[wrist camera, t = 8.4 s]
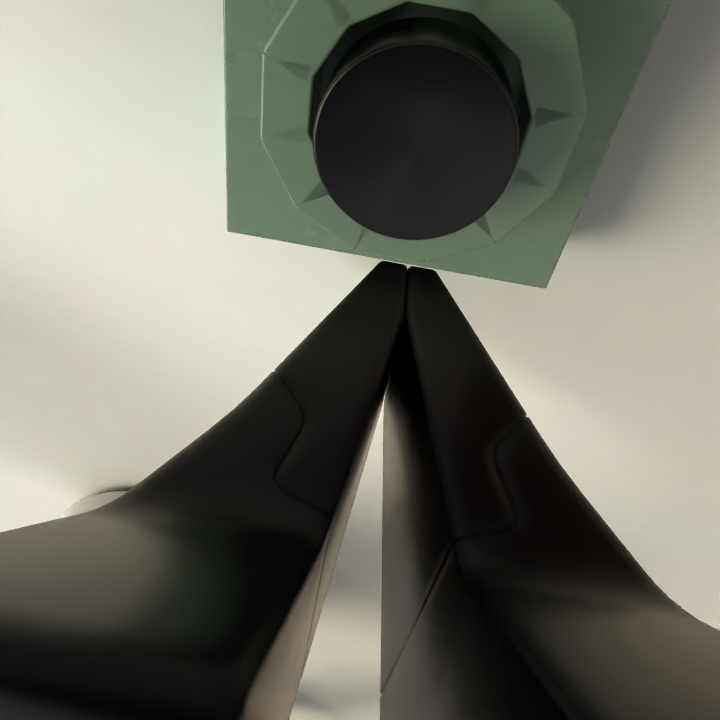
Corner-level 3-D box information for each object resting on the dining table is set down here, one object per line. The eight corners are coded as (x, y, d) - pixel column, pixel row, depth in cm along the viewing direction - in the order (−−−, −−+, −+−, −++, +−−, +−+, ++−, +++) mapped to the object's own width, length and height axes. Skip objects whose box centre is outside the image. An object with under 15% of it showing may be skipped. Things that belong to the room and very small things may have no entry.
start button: (541, 36, 13) (550, 63, 12) (483, 218, 16) (486, 256, 15) (334, -2, 13) (321, 20, 11) (316, 188, 16) (304, 223, 15)
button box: (685, -128, 14) (755, -101, 11) (537, 242, 21) (552, 327, 18) (251, -211, 14) (188, -209, 11) (248, 189, 21) (209, 265, 17)
